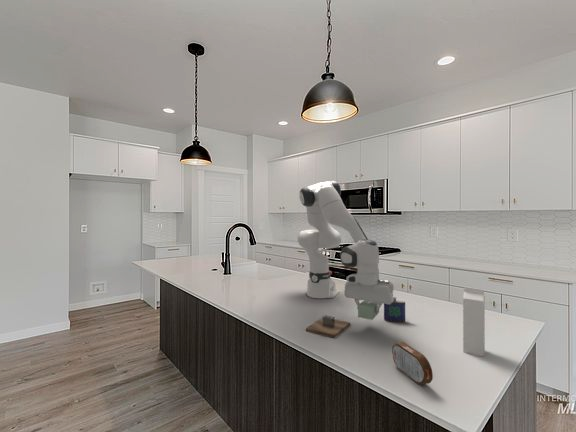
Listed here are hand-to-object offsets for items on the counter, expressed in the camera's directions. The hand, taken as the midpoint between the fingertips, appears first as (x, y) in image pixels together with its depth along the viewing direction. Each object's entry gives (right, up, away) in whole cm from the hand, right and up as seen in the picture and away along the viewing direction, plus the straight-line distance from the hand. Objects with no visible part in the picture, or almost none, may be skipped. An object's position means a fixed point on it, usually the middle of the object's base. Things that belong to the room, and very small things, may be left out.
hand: (368, 310), depth 125 cm
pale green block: (0, -2, 0) cm, 2 cm away
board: (-17, -8, +1) cm, 18 cm away
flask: (+14, -7, +9) cm, 18 cm away
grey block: (-17, -8, +1) cm, 18 cm away
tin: (+3, -8, -37) cm, 38 cm away
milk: (+31, -8, -21) cm, 39 cm away
